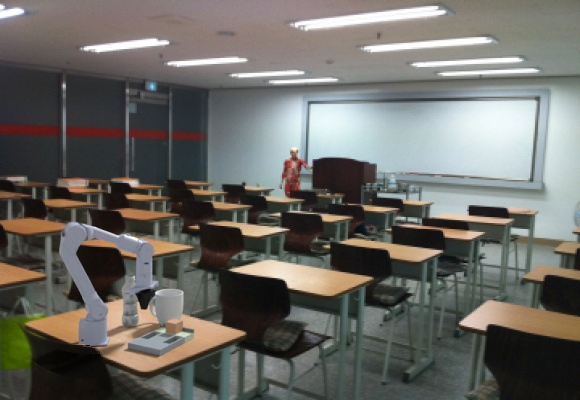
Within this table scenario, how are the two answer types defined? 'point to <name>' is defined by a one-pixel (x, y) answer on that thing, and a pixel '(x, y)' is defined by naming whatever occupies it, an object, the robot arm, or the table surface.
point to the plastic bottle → (129, 303)
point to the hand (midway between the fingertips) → (144, 309)
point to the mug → (167, 305)
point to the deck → (161, 340)
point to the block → (174, 326)
